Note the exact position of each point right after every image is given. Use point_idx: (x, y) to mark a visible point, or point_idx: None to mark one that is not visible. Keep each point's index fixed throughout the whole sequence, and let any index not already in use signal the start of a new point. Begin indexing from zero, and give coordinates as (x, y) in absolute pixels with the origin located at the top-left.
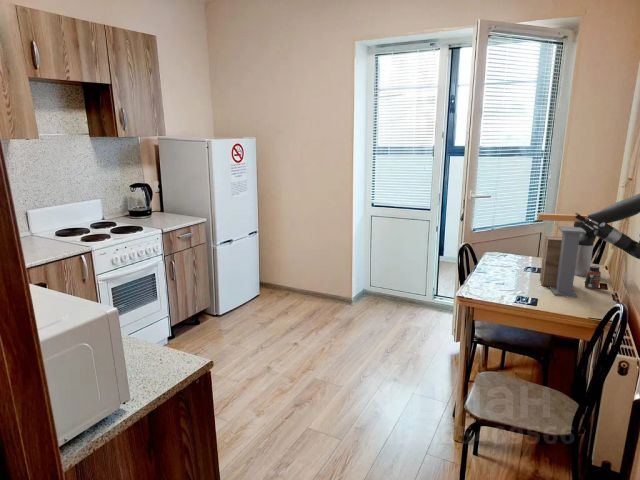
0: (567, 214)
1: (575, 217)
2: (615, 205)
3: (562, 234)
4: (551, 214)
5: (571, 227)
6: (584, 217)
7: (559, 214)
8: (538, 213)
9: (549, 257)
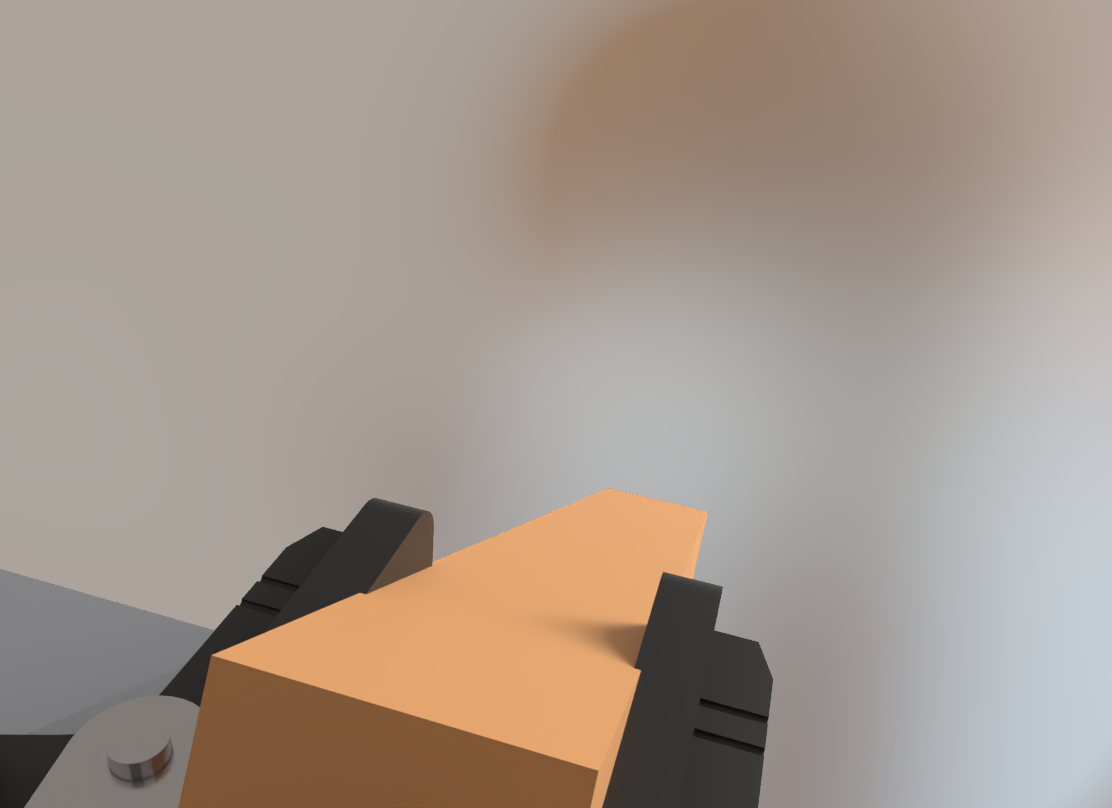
0: (656, 577)
1: None
2: None
3: None
4: (614, 512)
5: (22, 695)
6: None
7: (631, 538)
8: (705, 512)
9: None
